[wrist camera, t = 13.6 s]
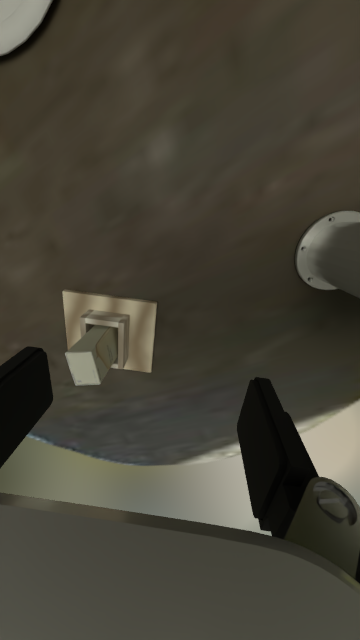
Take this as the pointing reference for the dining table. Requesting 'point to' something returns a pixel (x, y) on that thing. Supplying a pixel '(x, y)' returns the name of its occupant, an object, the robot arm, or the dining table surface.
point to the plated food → (19, 21)
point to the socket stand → (114, 324)
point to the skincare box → (93, 355)
